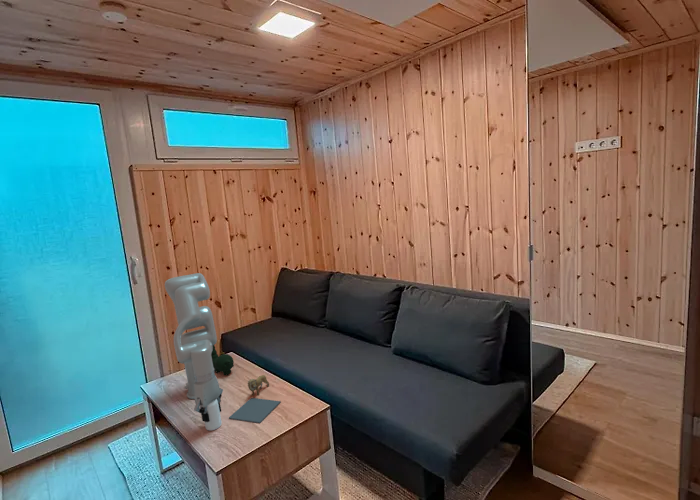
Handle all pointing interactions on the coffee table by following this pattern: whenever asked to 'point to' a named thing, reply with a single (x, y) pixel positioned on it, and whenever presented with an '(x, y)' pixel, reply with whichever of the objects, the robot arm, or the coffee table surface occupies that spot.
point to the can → (213, 416)
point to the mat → (255, 410)
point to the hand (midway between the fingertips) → (212, 416)
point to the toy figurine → (222, 362)
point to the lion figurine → (257, 384)
